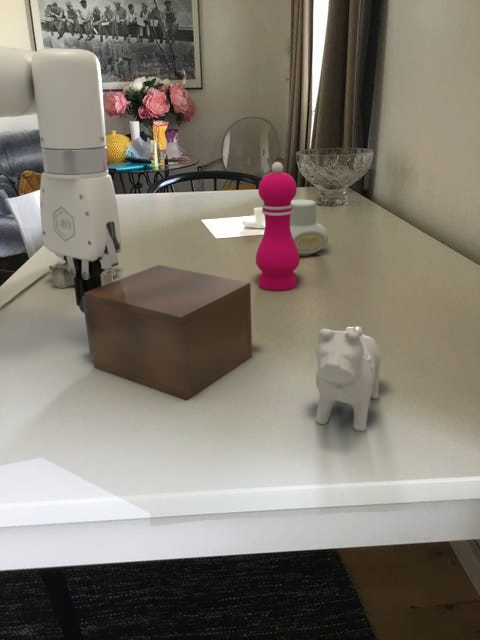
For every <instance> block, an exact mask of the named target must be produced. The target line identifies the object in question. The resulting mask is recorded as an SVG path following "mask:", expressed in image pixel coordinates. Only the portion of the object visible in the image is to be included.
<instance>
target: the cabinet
mask: <svg viewBox="0 0 480 640" xmlns="http://www.w3.org/2000/svg"><path fill="white" fill-rule="evenodd" d="M251 288H252V287H251V282H248V281H243V280H237V279H232V278H228V277H223V276H217V275H212V274H207V273H203V272H197V271H192V270H187V269H182V268H176V267H172V266H171V267H170V266H167V265H162V264H157V265H155V266H152V267H149V268H146V269H143V270H140V271H138V272H135V273H132V274H131V275H127V276H125V277H122V278H120V279H117V280H113V282H111V283H109V284H106V285H103V286H101V287H98V288H95V289H93V290H90V291H87V292H85V293H84V297H85V304H86V312H87V319H88V326H89V333H90V340H91V347H92V354H93V357H92V359H93V367H94V368H95V369H98V370H101V371H104V372H106V373H109V374H112V375H115V376H118V377H120V378H123V379H126V380H129V381H132V382H134V383H138V384H140V385H143V386H145V387H149V388H151V389H154V390H158V391H160V392H163V393H166V394H168V395H171V396H174V397H177V398H180V399H182V400H185V401H188V400H190V399H191V398H193V397H194V396H195V395H197V394H199V393H200V392H202V391H203V390H204V389H205V388H207V387H209V386H210V385H212V384H213V383H215V382H217V380H219V379H220V378H222V377H223V376H225V375H226V374H228V373H230V372H231V371H232V370H234V369H236V368H237V367H238V366H240V365H241V364H243V363H244V362H245V361H247V360H249V359H250V358H252V357H253V342H252V341H253V339H252V337H253V336H252V297H251V296H252V292H251Z"/></svg>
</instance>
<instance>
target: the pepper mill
mask: <svg viewBox="0 0 480 640" xmlns="http://www.w3.org/2000/svg"><path fill="white" fill-rule="evenodd" d="M283 170H284V166H283V164H282V162H279V161H275V162H274V163H273V164H272V165H271V171H272V172H270V173H267V174H265V175H264V176H263V177H262V178H261V180H260V181H259V184H258V187H257V188H258V189H257V192H258V196H259V198H260V199H261V200H262V201H263V203H262V204H261V207H262V209H263V210H262V213H263V214H264V215H265V231H264V234H263V235H262V237H261V240H260V243H259V245H258V247H257V250H256V251H257V252H256V254H255V264H256V266H257V268H258V269H259V270H260V271H261V272H260V273H259V275H258V285H259V287H260V288H261V289H264V290H267V291H274V292H276V291H278V292H279V291H287V290H290V289H291V290H292V289H294V288H295V287H296V286H297V277H298V276H297V274H296V272H295V270H297V268H298V267H299V265H300V261H301V260H300V256H299V252H298V248H297V246H296V244H295V242H294V240H293V237H292V234H291V230H290V215H291V213H293V208H292V207H293V204H292V203H291V201H292V200H294V199H295V197H296V196H297V189H298V188H297V187H298V186H297V183H296V180H295V179H294V177H293V176H291V175H290V174H288V173H286V172H283Z"/></svg>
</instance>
